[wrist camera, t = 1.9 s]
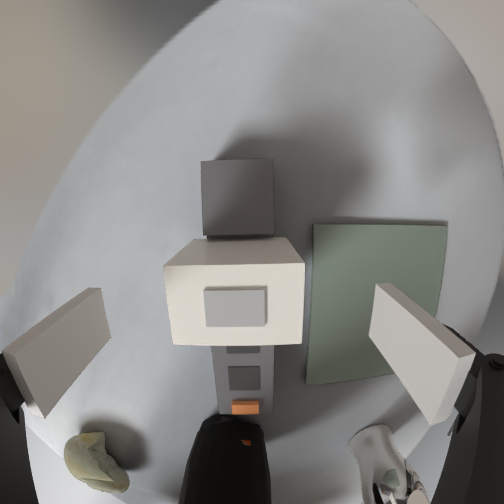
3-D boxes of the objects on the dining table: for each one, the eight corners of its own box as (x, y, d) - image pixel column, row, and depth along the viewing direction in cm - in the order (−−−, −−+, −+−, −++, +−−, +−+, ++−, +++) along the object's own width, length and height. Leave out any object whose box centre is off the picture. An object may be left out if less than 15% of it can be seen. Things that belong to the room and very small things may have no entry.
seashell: (131, 510, 24) (72, 496, 23) (137, 476, 32) (84, 465, 31) (108, 463, 23) (42, 444, 22) (121, 425, 31) (62, 413, 29)
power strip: (270, 391, 27) (273, 417, 23) (222, 391, 27) (218, 418, 23) (269, 163, 22) (273, 157, 18) (208, 165, 22) (199, 160, 18)
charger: (285, 293, 23) (302, 345, 15) (197, 294, 23) (172, 346, 15) (285, 237, 22) (305, 263, 14) (194, 239, 22) (162, 266, 14)
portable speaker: (231, 397, 27) (218, 564, 8) (282, 437, 29) (298, 575, 10) (179, 425, 28) (144, 562, 10) (230, 460, 30) (224, 583, 11)
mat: (419, 364, 27) (422, 367, 26) (304, 382, 27) (305, 385, 26) (444, 225, 23) (447, 226, 23) (312, 224, 23) (314, 224, 23)
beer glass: (398, 416, 28) (444, 498, 14) (386, 447, 30) (420, 523, 15) (349, 427, 28) (383, 523, 14) (341, 457, 30) (366, 542, 15)
